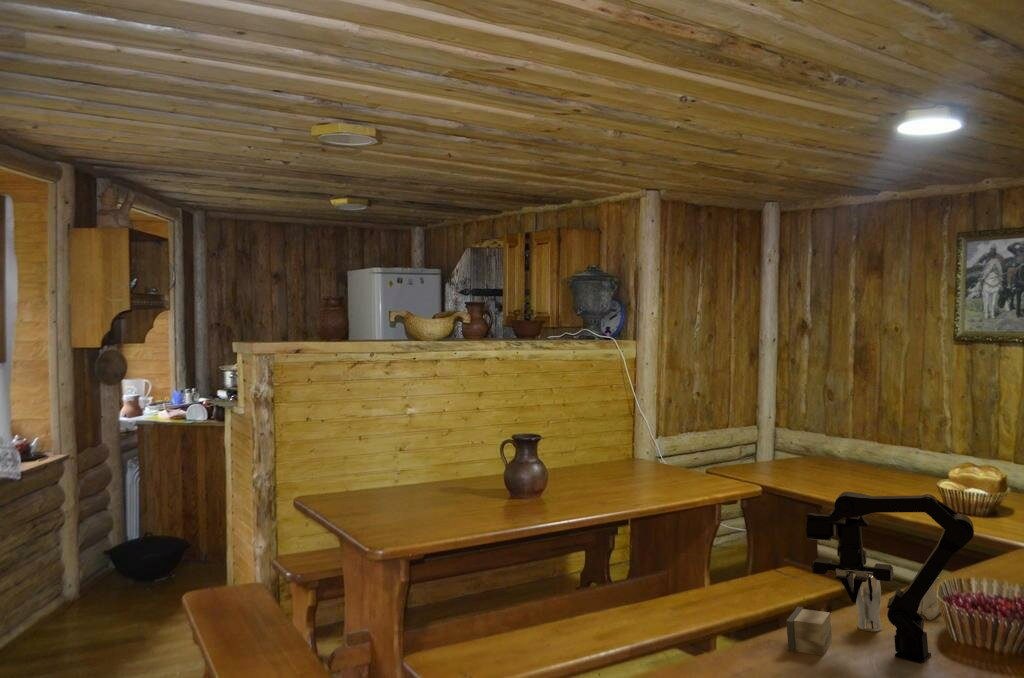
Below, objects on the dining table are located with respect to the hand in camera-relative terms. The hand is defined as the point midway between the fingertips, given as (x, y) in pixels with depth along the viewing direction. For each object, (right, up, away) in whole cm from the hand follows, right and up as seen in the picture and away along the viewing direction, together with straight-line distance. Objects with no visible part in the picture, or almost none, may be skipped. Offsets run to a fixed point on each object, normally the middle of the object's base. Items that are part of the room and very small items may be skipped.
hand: (854, 602), depth 194 cm
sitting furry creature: (+31, -11, +22) cm, 39 cm away
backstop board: (-13, -13, +5) cm, 19 cm away
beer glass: (+10, -12, +13) cm, 21 cm away
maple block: (-9, -13, +3) cm, 16 cm away
